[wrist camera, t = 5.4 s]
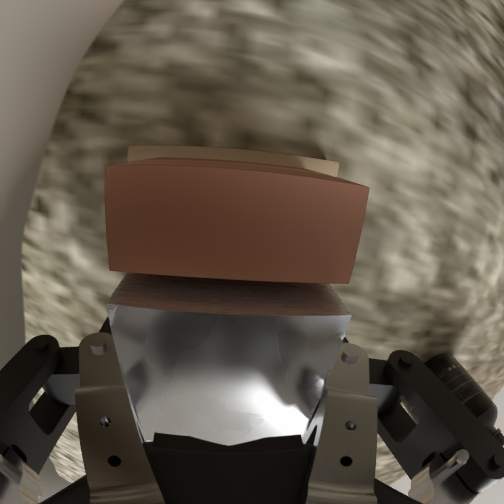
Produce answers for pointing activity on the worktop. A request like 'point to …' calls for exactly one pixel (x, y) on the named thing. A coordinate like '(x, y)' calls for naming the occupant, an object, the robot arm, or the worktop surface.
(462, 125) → the worktop surface
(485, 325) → the worktop surface
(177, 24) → the worktop surface
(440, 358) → the supplement bottle
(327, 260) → the rail
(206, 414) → the block
